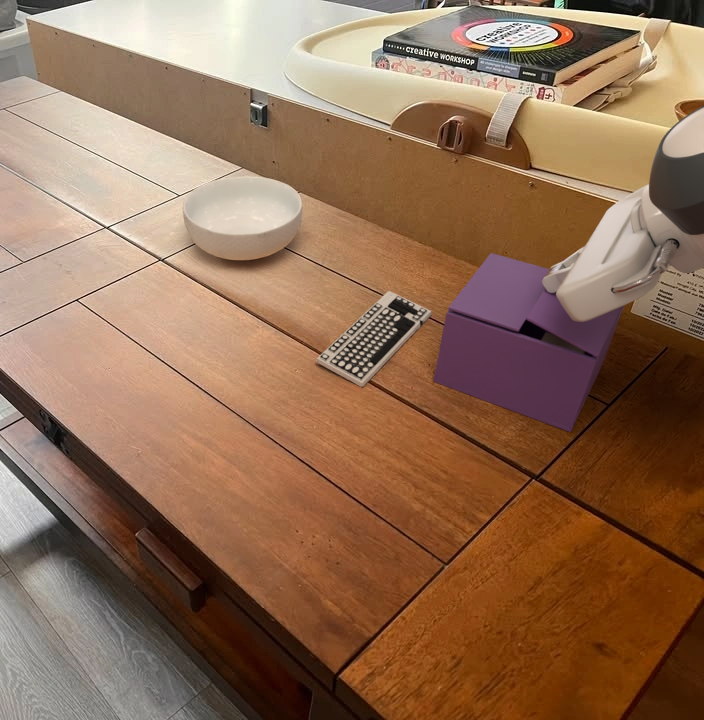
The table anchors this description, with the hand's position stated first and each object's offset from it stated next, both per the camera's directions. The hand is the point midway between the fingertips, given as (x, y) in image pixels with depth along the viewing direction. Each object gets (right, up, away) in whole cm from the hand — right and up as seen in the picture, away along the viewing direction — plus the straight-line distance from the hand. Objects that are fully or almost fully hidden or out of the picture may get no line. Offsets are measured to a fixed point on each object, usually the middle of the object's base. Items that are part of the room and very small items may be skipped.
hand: (549, 280), depth 78 cm
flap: (+3, -3, -1) cm, 4 cm away
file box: (0, -10, +8) cm, 12 cm away
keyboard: (-15, -6, +13) cm, 21 cm away
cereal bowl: (-31, +8, +31) cm, 45 cm away
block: (+3, -11, +6) cm, 12 cm away
